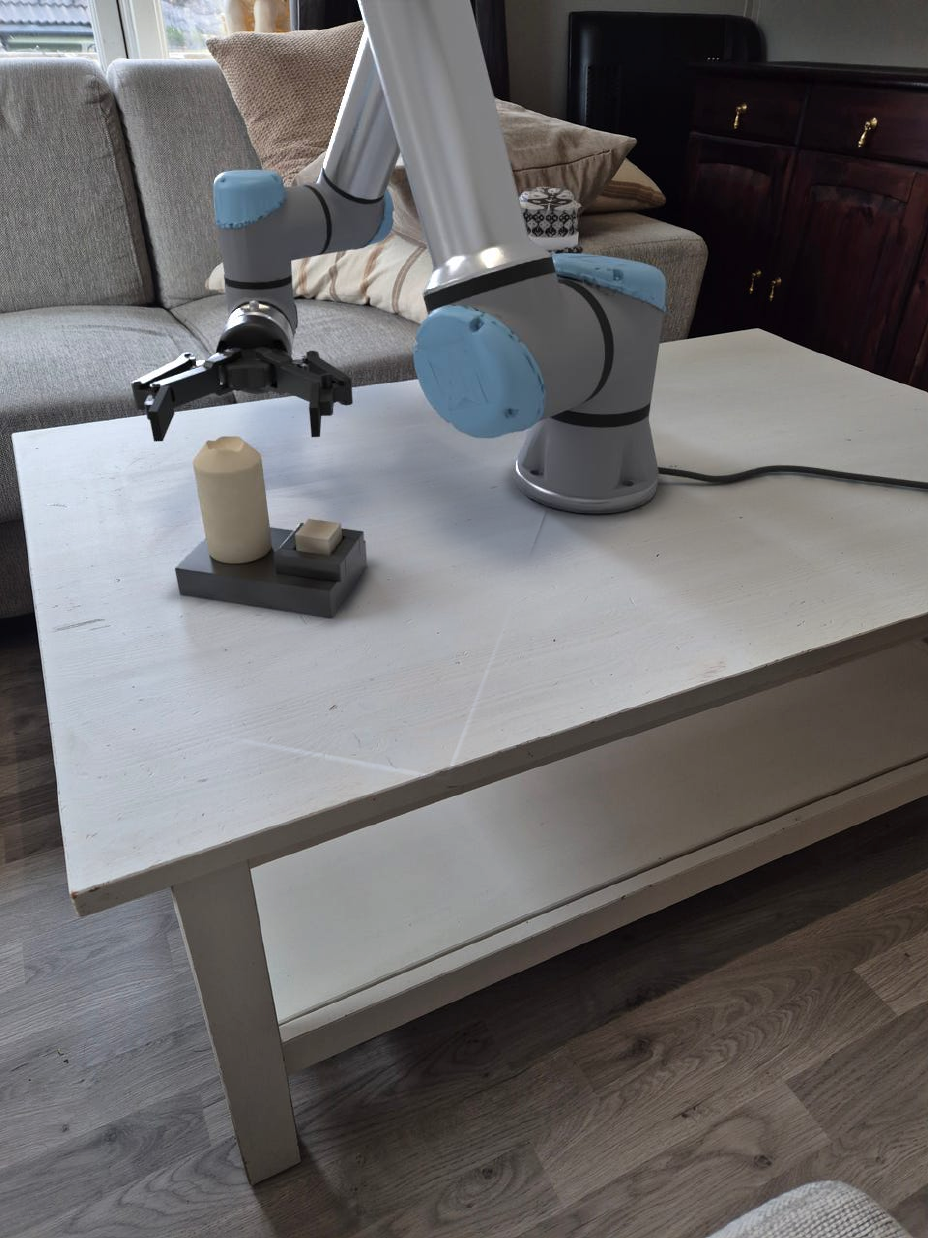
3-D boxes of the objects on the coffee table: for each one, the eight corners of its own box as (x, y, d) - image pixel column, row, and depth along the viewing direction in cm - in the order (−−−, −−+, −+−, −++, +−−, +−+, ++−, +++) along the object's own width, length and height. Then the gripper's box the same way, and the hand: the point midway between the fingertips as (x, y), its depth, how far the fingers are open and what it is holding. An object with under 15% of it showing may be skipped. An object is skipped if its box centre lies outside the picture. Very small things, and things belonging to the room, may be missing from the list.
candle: (257, 567, 76) (242, 458, 70) (197, 560, 76) (177, 452, 71) (281, 537, 80) (269, 432, 74) (224, 530, 81) (208, 426, 75)
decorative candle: (533, 413, 113) (547, 199, 99) (487, 392, 119) (493, 187, 105) (584, 398, 118) (604, 191, 104) (537, 378, 124) (549, 181, 110)
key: (342, 540, 77) (341, 522, 76) (330, 557, 74) (328, 539, 73) (310, 536, 77) (308, 518, 76) (296, 552, 75) (294, 534, 74)
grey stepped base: (371, 566, 81) (369, 522, 79) (336, 619, 74) (333, 573, 72) (226, 545, 84) (220, 502, 82) (179, 594, 77) (170, 549, 74)
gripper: (128, 314, 92) (77, 385, 74) (371, 311, 94) (377, 379, 77) (142, 385, 96) (97, 468, 78) (374, 380, 98) (380, 460, 81)
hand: (235, 424), depth 77 cm, fingers open, 13 cm apart
